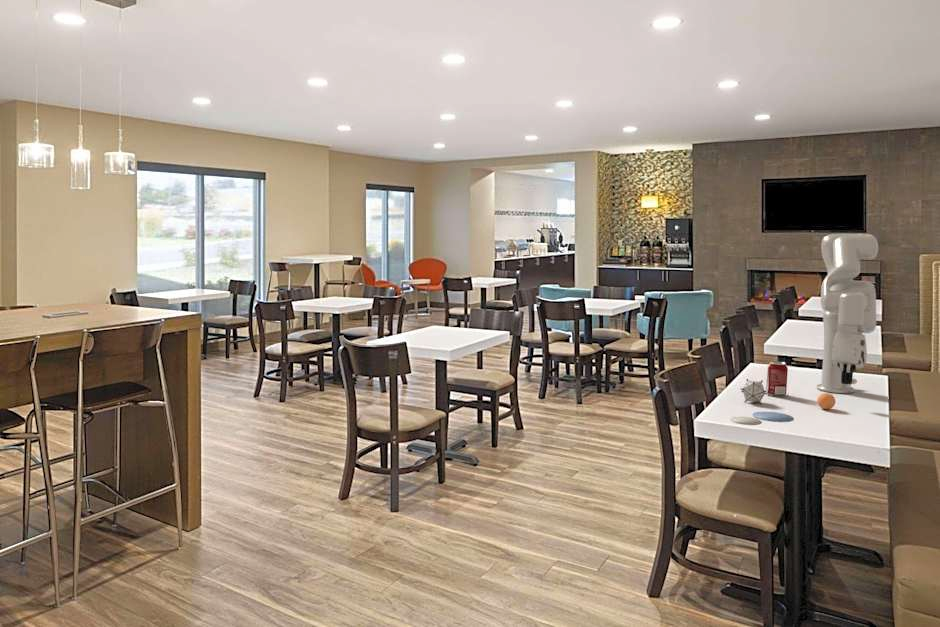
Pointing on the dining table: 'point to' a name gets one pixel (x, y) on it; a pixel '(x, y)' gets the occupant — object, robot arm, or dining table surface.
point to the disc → (773, 416)
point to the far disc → (746, 420)
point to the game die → (753, 391)
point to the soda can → (776, 378)
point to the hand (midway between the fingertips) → (846, 383)
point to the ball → (826, 401)
